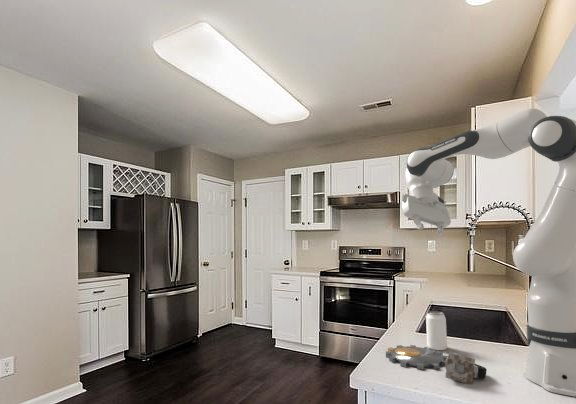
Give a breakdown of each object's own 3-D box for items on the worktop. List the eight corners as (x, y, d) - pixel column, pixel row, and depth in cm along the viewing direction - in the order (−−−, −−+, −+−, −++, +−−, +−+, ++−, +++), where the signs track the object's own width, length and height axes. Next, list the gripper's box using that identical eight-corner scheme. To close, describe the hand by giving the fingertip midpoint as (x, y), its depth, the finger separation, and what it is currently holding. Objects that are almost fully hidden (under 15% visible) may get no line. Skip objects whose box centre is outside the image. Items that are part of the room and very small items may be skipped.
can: (437, 344, 126) (435, 310, 127) (451, 349, 120) (449, 314, 121) (423, 346, 123) (421, 311, 125) (436, 352, 117) (435, 315, 119)
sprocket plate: (457, 357, 112) (457, 353, 112) (435, 375, 98) (435, 370, 98) (401, 345, 125) (401, 340, 125) (375, 358, 111) (374, 354, 111)
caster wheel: (478, 381, 100) (491, 391, 91) (437, 369, 103) (445, 377, 93) (481, 357, 101) (494, 364, 92) (441, 346, 104) (449, 352, 95)
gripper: (407, 187, 125) (414, 220, 117) (448, 202, 132) (458, 234, 124) (395, 196, 129) (402, 229, 122) (436, 210, 137) (444, 241, 129)
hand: (430, 231), depth 123 cm, fingers open, 8 cm apart
